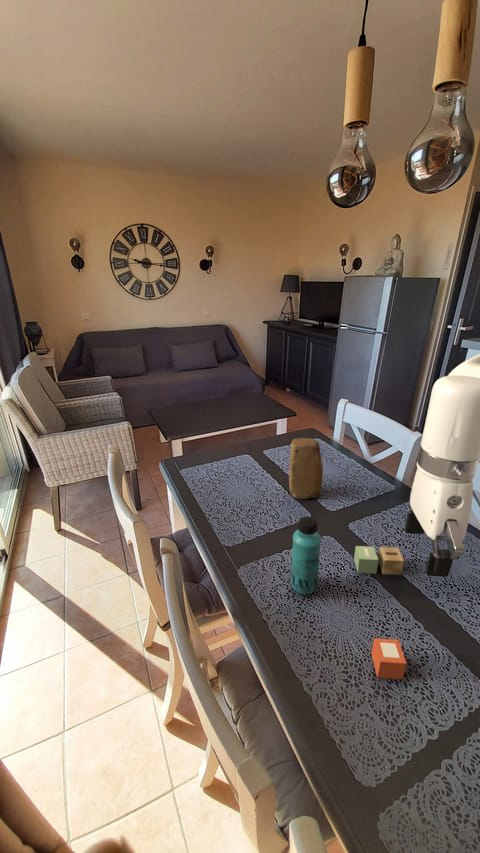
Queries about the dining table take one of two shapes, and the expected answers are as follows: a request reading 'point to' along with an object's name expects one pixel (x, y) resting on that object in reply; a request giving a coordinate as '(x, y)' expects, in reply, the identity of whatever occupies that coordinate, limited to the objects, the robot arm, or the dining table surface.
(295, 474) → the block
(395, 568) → the tan wooden toy cube
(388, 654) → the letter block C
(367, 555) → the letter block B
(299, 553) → the beverage bottle
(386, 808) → the dining table surface
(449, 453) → the robot arm
